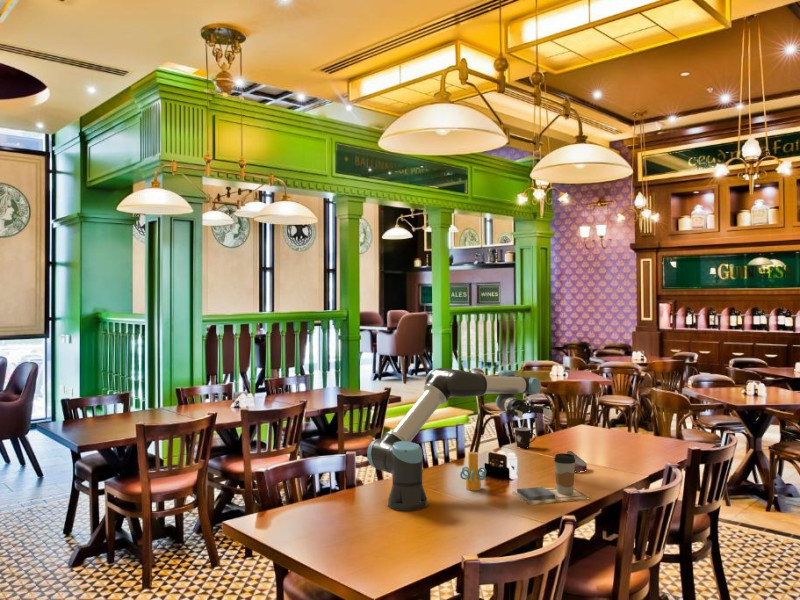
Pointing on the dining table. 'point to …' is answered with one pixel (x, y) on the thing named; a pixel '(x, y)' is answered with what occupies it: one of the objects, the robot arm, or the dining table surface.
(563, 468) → the coffee cup
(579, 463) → the canned food
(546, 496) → the board
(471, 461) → the orange box with loops
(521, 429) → the coffee mug
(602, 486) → the dining table surface
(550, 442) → the dining table surface
